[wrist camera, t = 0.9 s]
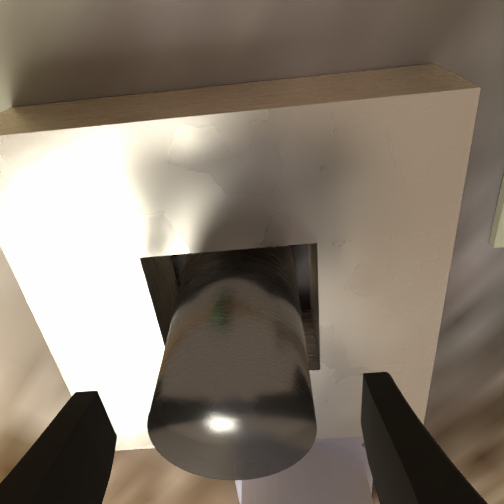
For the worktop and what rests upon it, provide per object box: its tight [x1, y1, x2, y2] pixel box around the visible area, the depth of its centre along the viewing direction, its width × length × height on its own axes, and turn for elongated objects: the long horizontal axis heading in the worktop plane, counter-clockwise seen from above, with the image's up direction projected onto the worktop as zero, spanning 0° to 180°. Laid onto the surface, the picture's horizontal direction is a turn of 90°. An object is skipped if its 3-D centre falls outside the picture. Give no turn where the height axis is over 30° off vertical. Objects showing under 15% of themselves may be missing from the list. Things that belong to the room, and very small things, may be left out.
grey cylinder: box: [147, 245, 317, 480], centre depth 15 cm, size 4×4×8 cm
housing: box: [0, 64, 481, 450], centre depth 17 cm, size 14×14×4 cm
